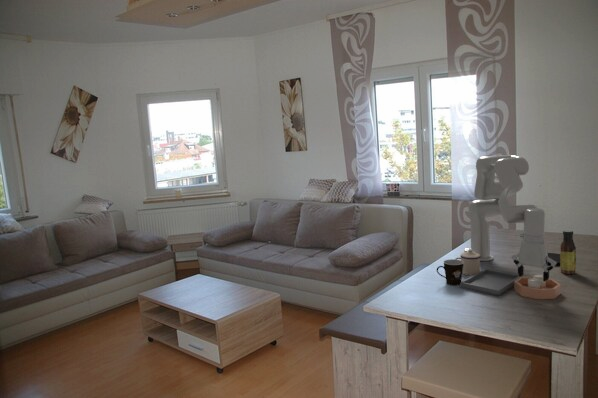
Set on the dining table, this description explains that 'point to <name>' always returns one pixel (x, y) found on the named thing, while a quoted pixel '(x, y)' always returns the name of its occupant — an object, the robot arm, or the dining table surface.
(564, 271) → the sauce bottle
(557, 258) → the wireless charger
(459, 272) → the coffee mug
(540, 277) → the pebble
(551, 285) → the bowl
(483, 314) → the dining table surface
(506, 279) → the parts tray
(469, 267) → the teacup with lid
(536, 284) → the pebble
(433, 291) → the dining table surface
